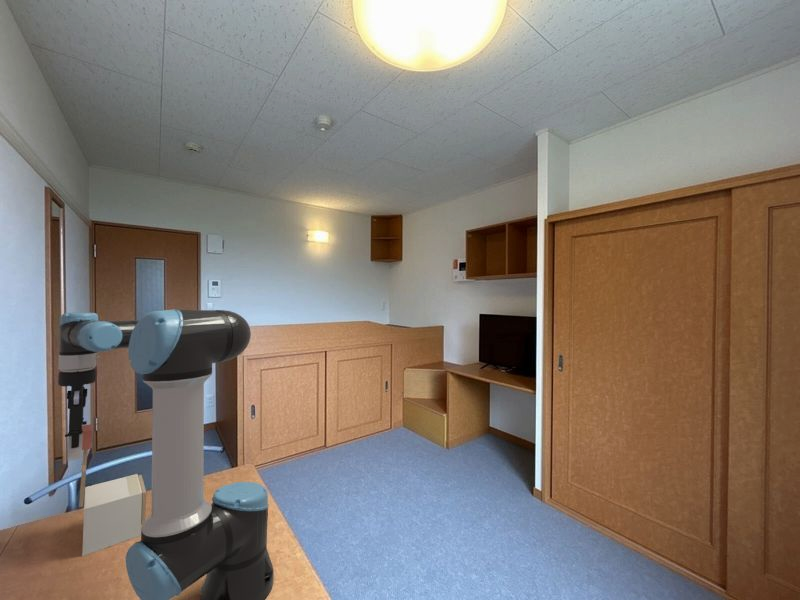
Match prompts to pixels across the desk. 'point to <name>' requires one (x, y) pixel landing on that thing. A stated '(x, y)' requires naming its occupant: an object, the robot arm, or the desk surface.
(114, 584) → the desk surface
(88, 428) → the flap
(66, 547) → the desk surface
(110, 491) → the carton
